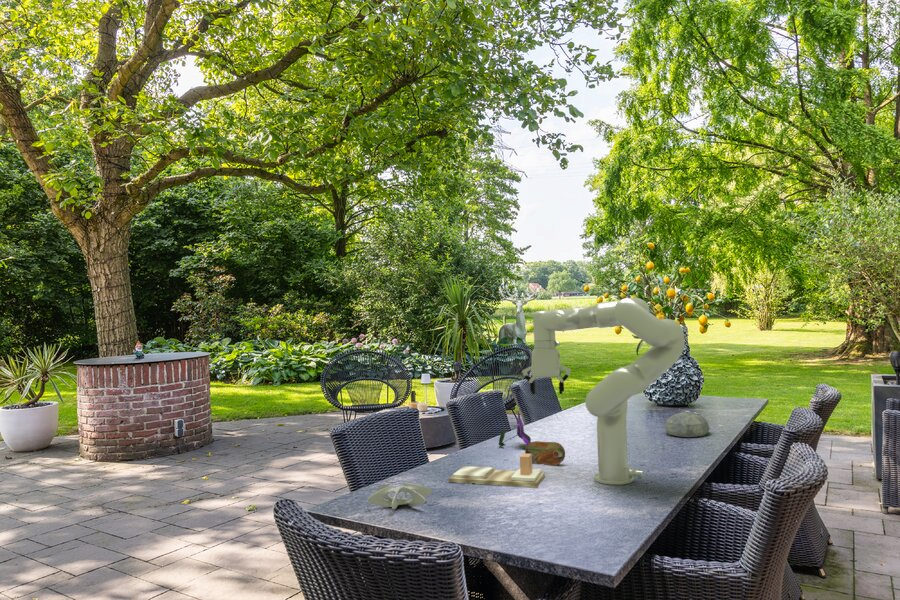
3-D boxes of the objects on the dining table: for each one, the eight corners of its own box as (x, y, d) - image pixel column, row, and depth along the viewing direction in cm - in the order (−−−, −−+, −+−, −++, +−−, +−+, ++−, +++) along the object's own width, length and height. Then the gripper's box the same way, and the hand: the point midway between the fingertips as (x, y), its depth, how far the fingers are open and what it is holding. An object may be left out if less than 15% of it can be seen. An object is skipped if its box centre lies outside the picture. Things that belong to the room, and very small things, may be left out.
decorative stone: (655, 434, 279) (654, 412, 280) (688, 428, 289) (687, 407, 289) (687, 440, 264) (686, 417, 264) (720, 434, 274) (719, 411, 274)
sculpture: (397, 493, 200) (396, 473, 200) (444, 503, 187) (444, 482, 188) (356, 508, 186) (355, 486, 187) (404, 520, 174) (404, 497, 174)
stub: (541, 472, 213) (540, 451, 213) (534, 481, 202) (533, 459, 202) (519, 471, 216) (518, 450, 216) (511, 480, 204) (510, 458, 205)
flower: (505, 463, 256) (533, 448, 254) (487, 431, 258) (515, 415, 256) (509, 455, 271) (536, 440, 268) (491, 424, 272) (518, 410, 270)
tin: (525, 463, 234) (524, 440, 234) (528, 461, 237) (527, 439, 237) (564, 466, 227) (563, 443, 227) (566, 464, 230) (565, 441, 230)
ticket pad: (544, 476, 214) (544, 469, 214) (536, 487, 201) (536, 479, 201) (461, 472, 224) (461, 465, 224) (449, 482, 210) (448, 474, 211)
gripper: (570, 344, 222) (573, 392, 222) (522, 345, 227) (525, 392, 227) (568, 345, 215) (570, 394, 215) (519, 346, 220) (521, 395, 220)
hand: (547, 393), depth 221 cm, fingers open, 9 cm apart
